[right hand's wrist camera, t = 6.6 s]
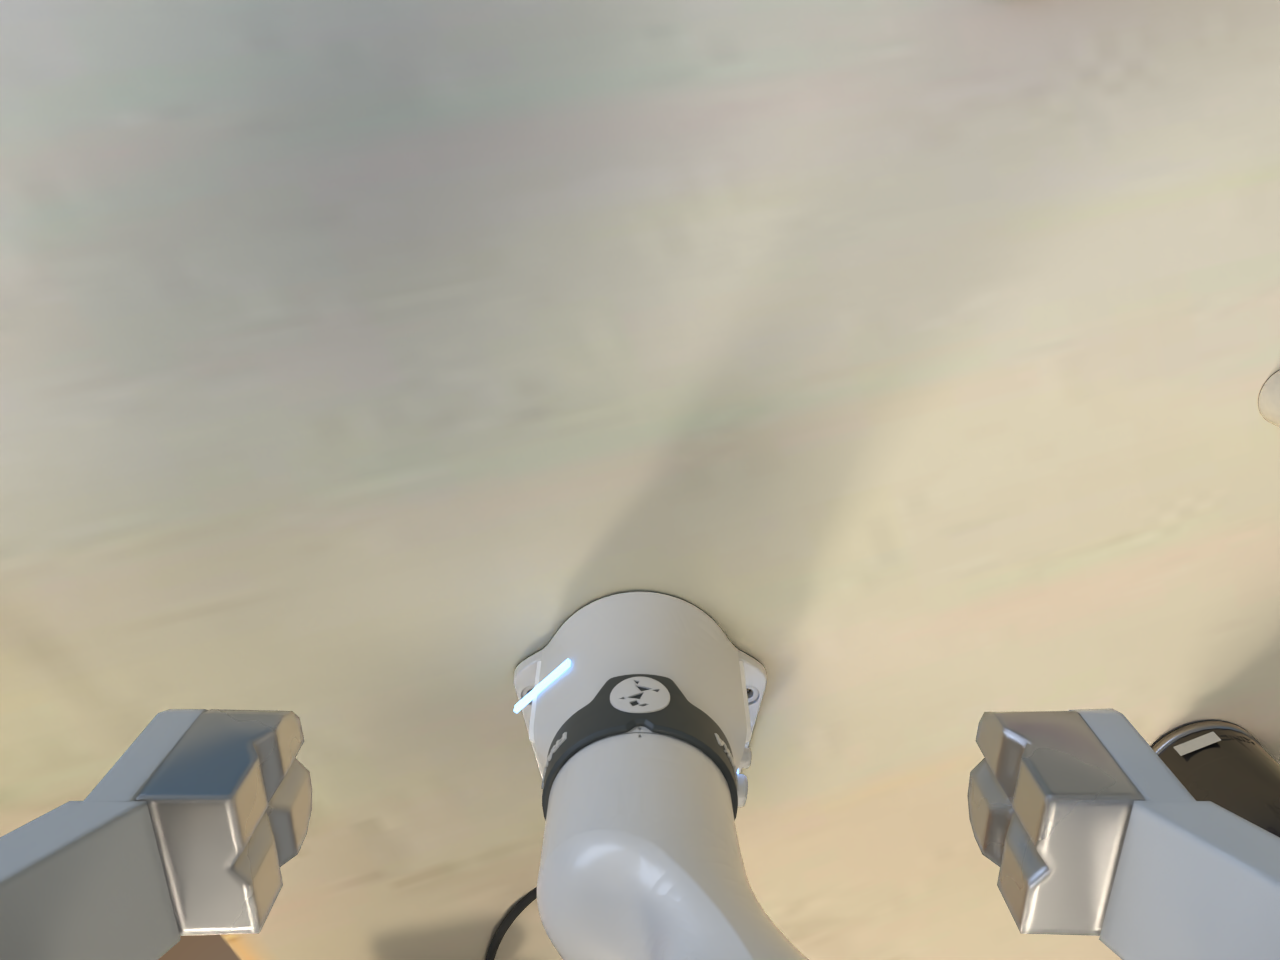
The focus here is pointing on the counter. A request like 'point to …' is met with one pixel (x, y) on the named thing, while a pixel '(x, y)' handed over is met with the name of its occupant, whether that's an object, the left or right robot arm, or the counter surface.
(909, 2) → the counter surface
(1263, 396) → the cream cylinder
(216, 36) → the counter surface
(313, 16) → the counter surface
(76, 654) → the counter surface
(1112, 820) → the right robot arm
